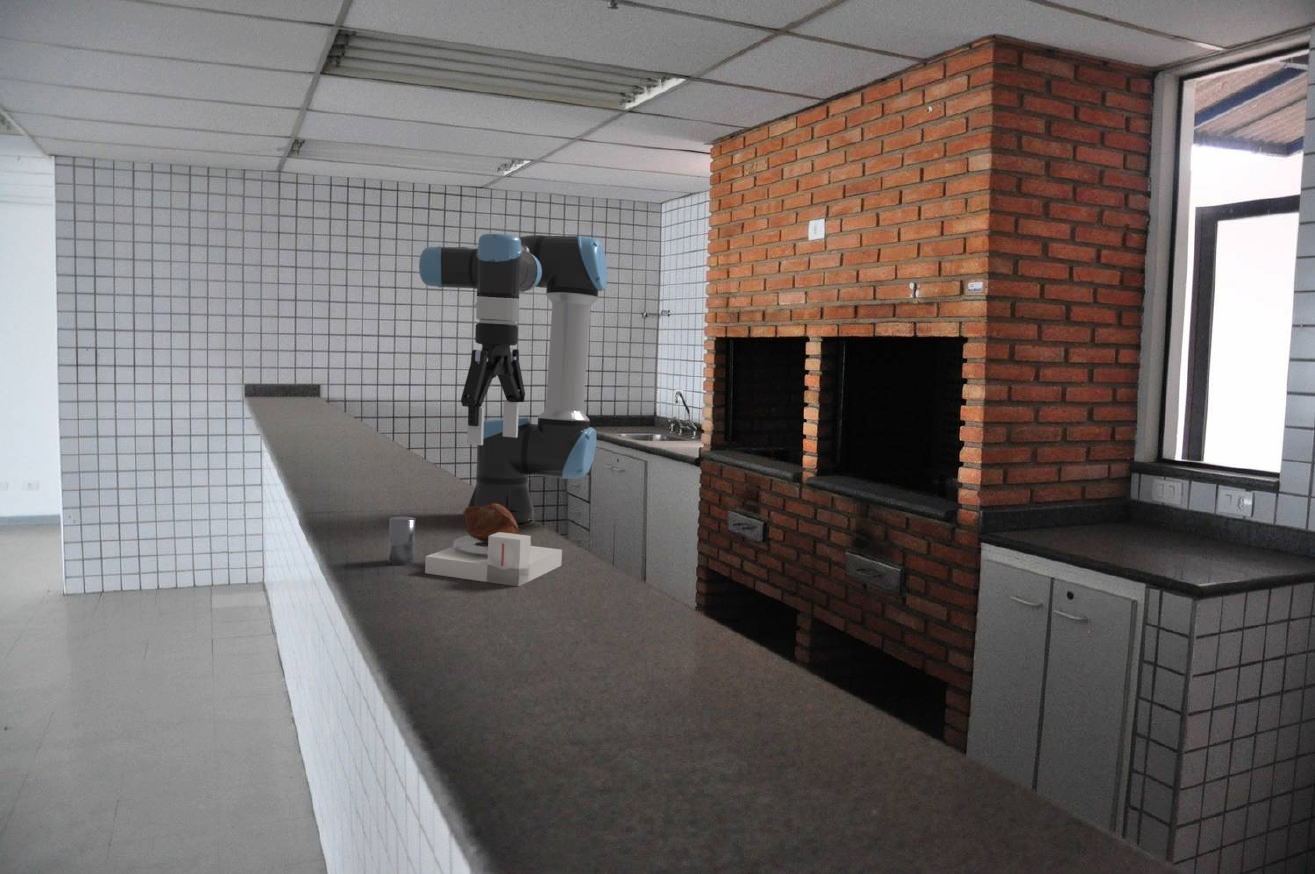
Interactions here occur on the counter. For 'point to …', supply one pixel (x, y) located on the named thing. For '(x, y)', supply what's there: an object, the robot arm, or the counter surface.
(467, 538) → the pan
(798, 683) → the counter surface
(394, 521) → the metal cylinder
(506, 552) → the scale
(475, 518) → the brown lumpy chunk
